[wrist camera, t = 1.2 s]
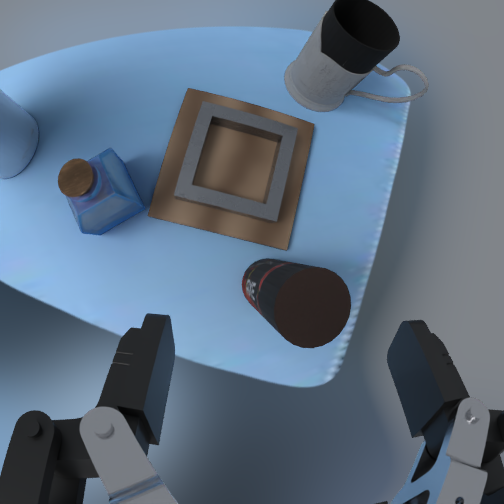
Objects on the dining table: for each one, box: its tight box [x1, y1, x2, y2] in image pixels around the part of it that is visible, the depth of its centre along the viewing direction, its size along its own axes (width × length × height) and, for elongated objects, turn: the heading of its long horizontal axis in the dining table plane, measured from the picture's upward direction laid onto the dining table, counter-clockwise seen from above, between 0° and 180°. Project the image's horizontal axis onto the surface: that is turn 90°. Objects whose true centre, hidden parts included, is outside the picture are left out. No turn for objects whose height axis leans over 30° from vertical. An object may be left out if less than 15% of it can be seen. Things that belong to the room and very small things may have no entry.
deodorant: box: [242, 259, 351, 348], centre depth 30 cm, size 6×6×15 cm
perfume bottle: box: [58, 148, 145, 235], centre depth 28 cm, size 6×6×12 cm
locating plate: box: [148, 88, 314, 250], centre depth 34 cm, size 16×16×4 cm
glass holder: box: [284, 0, 428, 112], centre depth 31 cm, size 9×14×15 cm, turn 60°
